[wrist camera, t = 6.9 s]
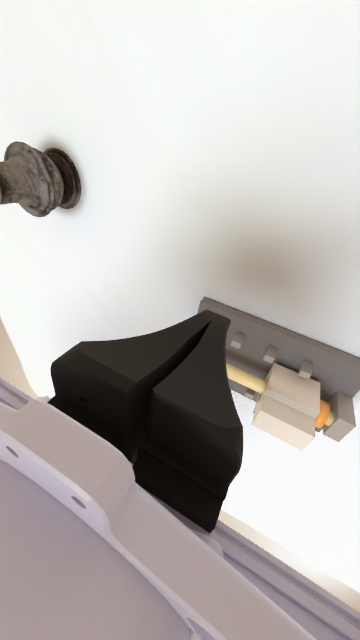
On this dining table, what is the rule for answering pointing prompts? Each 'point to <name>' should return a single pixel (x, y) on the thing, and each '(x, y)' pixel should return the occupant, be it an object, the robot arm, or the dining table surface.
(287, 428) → the sleeve
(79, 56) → the dining table surface
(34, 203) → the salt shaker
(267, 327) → the comb rail
